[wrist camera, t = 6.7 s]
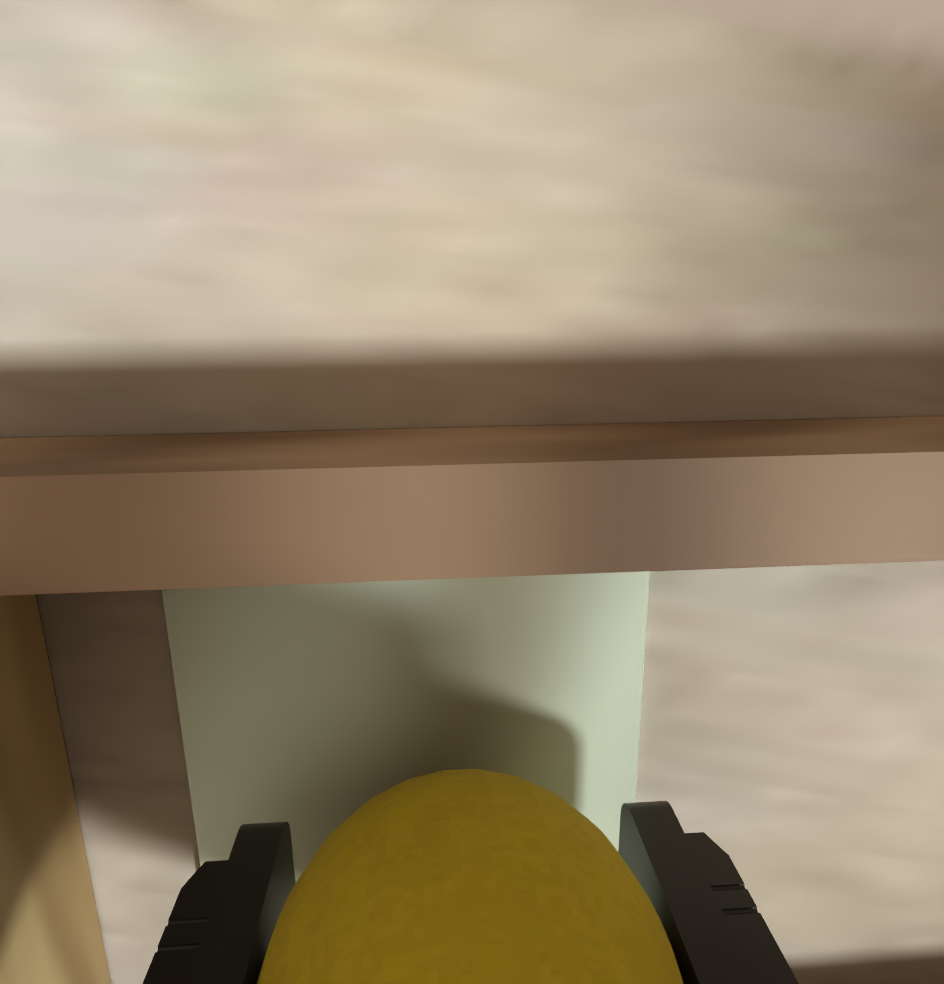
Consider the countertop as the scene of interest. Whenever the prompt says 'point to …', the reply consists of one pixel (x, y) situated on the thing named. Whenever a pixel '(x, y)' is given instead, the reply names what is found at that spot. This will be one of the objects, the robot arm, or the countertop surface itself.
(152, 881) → the countertop surface
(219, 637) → the brown wooden u-shaped frame
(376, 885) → the lemon
